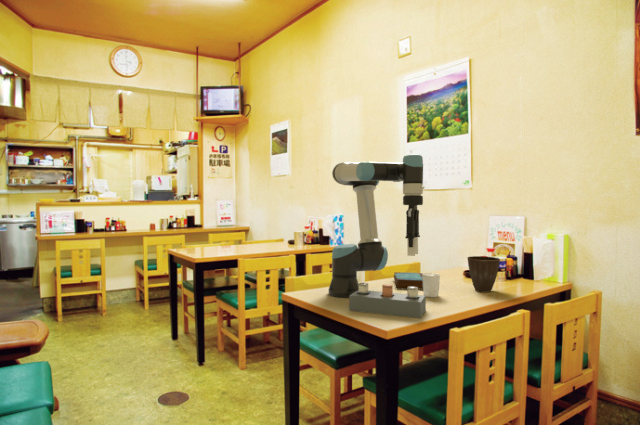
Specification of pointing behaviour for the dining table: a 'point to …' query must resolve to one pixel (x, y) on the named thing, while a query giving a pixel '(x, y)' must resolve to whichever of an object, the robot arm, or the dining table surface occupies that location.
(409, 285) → the book
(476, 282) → the plant pot
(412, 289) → the silver knob
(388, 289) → the terracotta knob middle
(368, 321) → the dining table surface
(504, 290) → the dining table surface
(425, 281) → the white cup
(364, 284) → the silver knob
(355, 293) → the grey socket block
